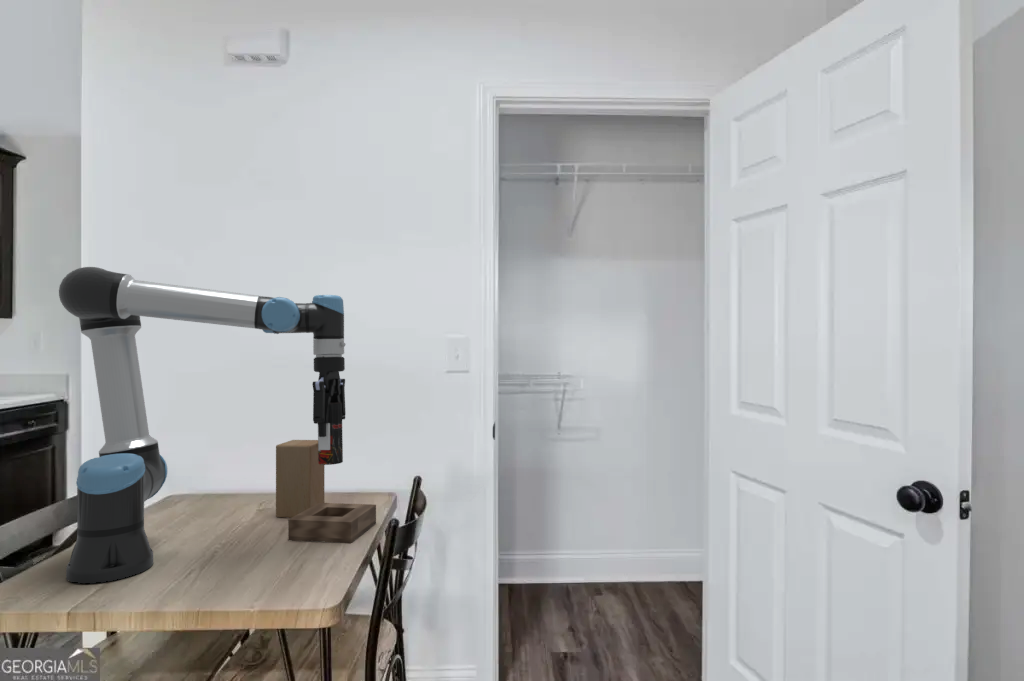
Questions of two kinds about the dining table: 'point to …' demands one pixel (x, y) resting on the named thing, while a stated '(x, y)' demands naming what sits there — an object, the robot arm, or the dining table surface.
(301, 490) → the wooden block
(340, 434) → the deodorant
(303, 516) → the socket block
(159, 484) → the robot arm
